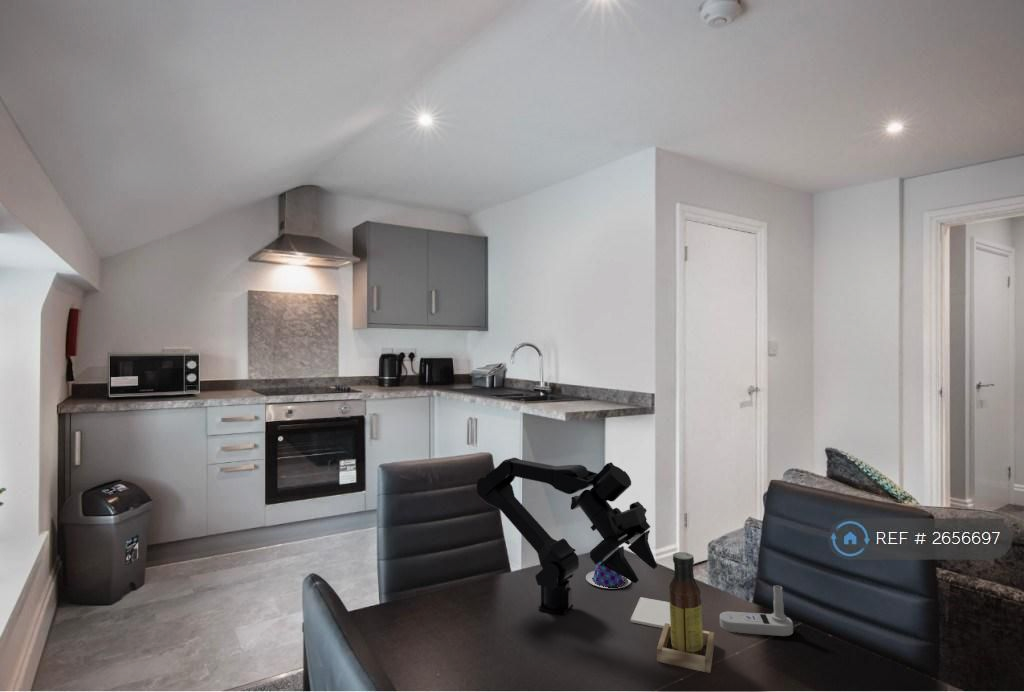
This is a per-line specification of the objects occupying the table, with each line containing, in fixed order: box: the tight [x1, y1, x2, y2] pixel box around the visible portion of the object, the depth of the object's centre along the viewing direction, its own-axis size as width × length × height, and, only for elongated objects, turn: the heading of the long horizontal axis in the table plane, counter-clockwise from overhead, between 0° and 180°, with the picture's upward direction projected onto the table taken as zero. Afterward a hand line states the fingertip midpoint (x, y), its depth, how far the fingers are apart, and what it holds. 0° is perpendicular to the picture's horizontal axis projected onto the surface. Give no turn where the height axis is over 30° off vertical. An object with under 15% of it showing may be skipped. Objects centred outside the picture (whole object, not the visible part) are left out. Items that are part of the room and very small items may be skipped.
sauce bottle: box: [668, 551, 704, 656], centre depth 112 cm, size 6×6×20 cm
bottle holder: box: [656, 623, 715, 674], centre depth 112 cm, size 10×11×2 cm
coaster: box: [630, 596, 671, 629], centre depth 128 cm, size 12×12×1 cm
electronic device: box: [719, 585, 794, 637], centre depth 122 cm, size 5×10×15 cm
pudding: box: [585, 561, 632, 589], centre depth 147 cm, size 12×12×5 cm
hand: (646, 574), depth 118 cm, fingers open, 9 cm apart
